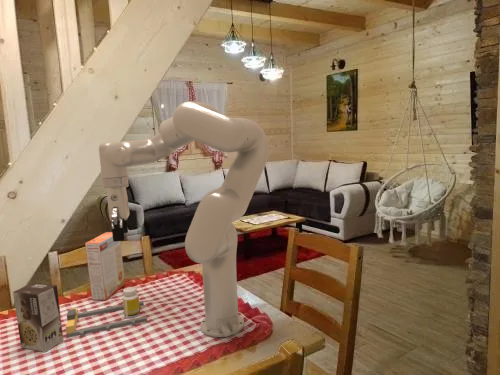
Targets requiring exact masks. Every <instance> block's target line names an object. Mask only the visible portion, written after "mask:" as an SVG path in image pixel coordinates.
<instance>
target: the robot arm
mask: <svg viewBox="0 0 500 375" xmlns="http://www.w3.org/2000/svg"><path fill="white" fill-rule="evenodd" d="M158 130H159V131H158V133H156V134H155V135H153V136H150V137H149V138H146V139H139V140H137V139H135V140H124V141H123V140H122V141H119V142H118V141H116V142H115V141H114V142H103V143H100V144H99V146H98V153H99V161H100V162H99V164H100V165H99V166H100V172H101V173H100V174H101V185H102V189H103V190H106V193H107V194H106V197H107V207H108V208H107V209H108V216H109V220H110V221H111V232H112V234H113V241H114V242H115V241H120V242H124V241H125V234H127V233H129V227H128V226H129V225H128V218H129V216H130V206H129V199H128V198H129V197H128V191H127V188H128V187H129V175H128V167H129V168H130V167H136V166H142V165H143V166H144V165H150V164H153V163H156V162H157V161H160V160H162V159H164V158H166V157H169V156H170V155H171V154H173V153H175V152H176V151H177V150H178V149H180V148H182V147H185V146H187V145H189V144H191V143H193V142H198V143H200V144H203V145H205V146H208V147H210V148H212V149H214V150H217V151H219V152H222V153H236V152H237V153H236V156H235V158H234V160H233V161H232V162H231V164H230V166H229V168H228V171H227V173H226V176H225V179H224V180H223V182H222V184H221V186H220V187H218V188H215V189H213V190H211V191H209V192H208V193H206V194H204V196H203V197H202V199H201V200H200V201H199V203H198V206H197V208H196V210H195V212H194V216H193V218H192V220H191V223H190V225H189V228H188V230H187V233H186V234H185V235H186V236H185V240H184V248H185V249H184V250H185V252H186V255H187V256H188V258H189V259H190V260H191V261H193V262H195V263H198V264H202V282H203V284H202V285H203V299H204V300H203V301H204V316H205V317H204V318H203V319H202V320H201V322H200V331H201V332H202V333H203V334H205V335H206V336H209V337H212V338H213V337H215V338H224V337H227V338H228V337H230V336H233V335H236V334H238V333H240V332H241V331H242V330H243V328H244V327H245V320H244V318H243V317H242V316H241V315H239V301H238V300H239V299H238V281H237V280H238V279H237V278H238V277H237V250H238V249H237V248H238V232H237V229H236V226H235V224H234V222H236V221H238V220H239V219H241V218H242V217H243V216H244V215H245V213H246V211H247V209H248V207H249V204H250V202H251V200H252V199H253V195H254V194H255V191H256V189H257V187H258V184H259V181H260V178H261V177H262V174H263V172H264V170H265V167H266V164H267V161H268V158H269V149H270V147H269V146H270V145H269V141H268V137H267V135H266V133H265V132H264V130H263V128H262V127H261V126H260V125H259V124H258V123H257V122H255V121H253V120H251V119H249V118H245V117H230V116H227V115H225V114H222V113H220V112H219V111H218V110H217V108H216V107H214V106H213V105H212V104H209V103H206V102H201V101H193V100H192V101H191V100H188V101H185V102H182V103H180V104H179V105H178V106H176V108H175V110H174V111H173V115H172V116H171V117H169V118H168V119H165V120H163V121H162V122H161V123H159V128H158Z"/></svg>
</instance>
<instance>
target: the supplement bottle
mask: <svg viewBox="0 0 500 375" xmlns="http://www.w3.org/2000/svg"><path fill="white" fill-rule="evenodd" d="M122 294H123V296H122V305H123V307H124V310H123V313H124V314H123V315H124V317H125V318H127V319H134V318H137V317H138V316H139V315H140V313H141V309H140V307H141V306H139V302H140V299H139V293H138V288H137V287H135V286H129V287H126V288H124V289H123V291H122Z"/></svg>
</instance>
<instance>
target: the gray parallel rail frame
mask: <svg viewBox="0 0 500 375" xmlns="http://www.w3.org/2000/svg"><path fill="white" fill-rule="evenodd" d="M144 302H145V301H144V300H141V301H140V300H139V307H143V306H145V303H144ZM117 311H124V307H123V304H119V305H114V306H111V305H109V306H108V305H107V306H106V307H104V308H99V309H92V310H86V309H85V310H83V311H82V312H78V319H80V318H86V317H92V316H97V315H101V314H102V315H103V314H107V313H114V312H117ZM141 322H142V323H145V322H148V317H147V315H146V316H141V317H140V316H139V317H133V318H128V319H126V320H125V319H124V320H121V321H115V322H110V323H105V324H100V325H95V326H90V327H85V328H80V329H76V330H75V331H74V332H72V333H66V335H65V336H66V339H68V338H72V337H77V336H79V337H84V336H85V335H88V334H92V333H96V332H101V331H106V332H109V331H111V330H112V329H116V328H117V329H118V328H121V327H122V328H123V327H125V326H132V327H134V326H136V323H137V324H140V323H141Z"/></svg>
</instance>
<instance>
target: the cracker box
mask: <svg viewBox="0 0 500 375" xmlns="http://www.w3.org/2000/svg"><path fill="white" fill-rule="evenodd" d="M84 245H85V255H86V261H87V269H88V271H87V272H88V279H89V287H90V292H91V293H90V294H91V300H92V301H108V300H109V299H110V298H111V297H112V296H113V295H114V294H116V292H118V291H119V290H120V289H122V288H123V286H124V285H126V282H125V273H124V272H125V271H124V263H123V255H122V254H123V253H122V243H121V241H115V242H114V241H113V234H112V231H107V232H104V233H101V234H100V235H98V236H96V237H95V238H92V239H90V240H89V241H86V242H85V243H84Z"/></svg>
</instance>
